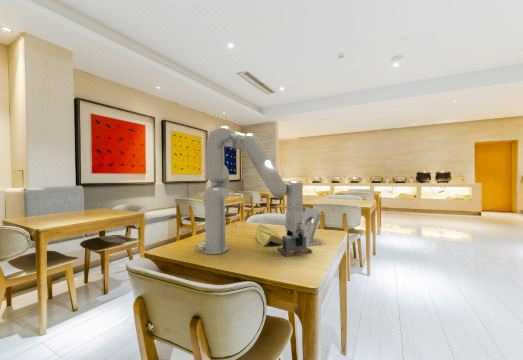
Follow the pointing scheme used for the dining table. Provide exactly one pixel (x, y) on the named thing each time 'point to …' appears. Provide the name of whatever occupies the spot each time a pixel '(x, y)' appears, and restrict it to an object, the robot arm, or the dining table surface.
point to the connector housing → (292, 243)
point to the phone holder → (310, 225)
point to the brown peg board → (293, 252)
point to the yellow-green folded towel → (267, 236)
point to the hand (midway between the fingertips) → (294, 242)
